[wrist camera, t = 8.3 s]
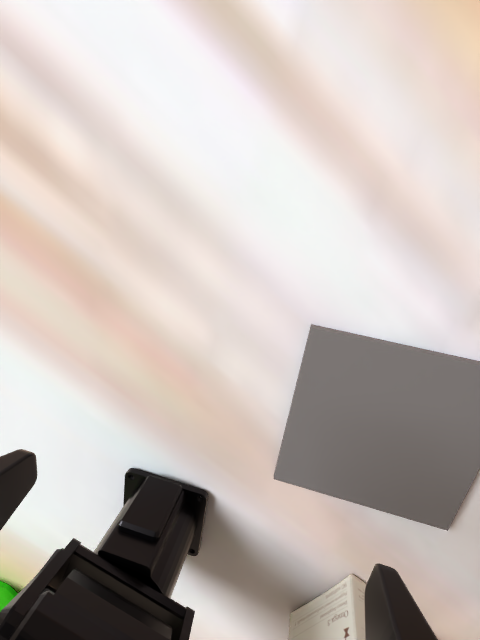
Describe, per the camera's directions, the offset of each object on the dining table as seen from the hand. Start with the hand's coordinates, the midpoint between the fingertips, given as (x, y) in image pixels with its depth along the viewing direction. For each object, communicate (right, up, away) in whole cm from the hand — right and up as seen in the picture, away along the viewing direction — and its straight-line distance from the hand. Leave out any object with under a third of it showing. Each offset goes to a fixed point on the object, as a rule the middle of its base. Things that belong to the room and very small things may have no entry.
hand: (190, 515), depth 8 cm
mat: (+10, -2, +12) cm, 15 cm away
